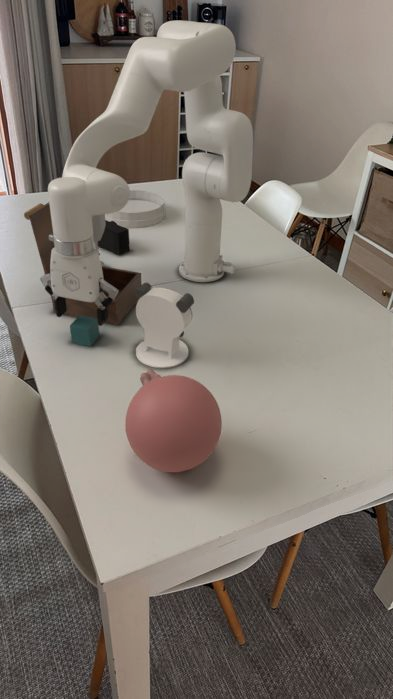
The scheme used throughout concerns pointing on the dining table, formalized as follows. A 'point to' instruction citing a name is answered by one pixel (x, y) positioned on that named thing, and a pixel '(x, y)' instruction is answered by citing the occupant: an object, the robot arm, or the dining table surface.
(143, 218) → the dish
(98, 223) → the chalice
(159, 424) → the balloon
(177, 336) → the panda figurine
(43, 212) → the box lid
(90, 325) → the block
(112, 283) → the box
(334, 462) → the dining table surface
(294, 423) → the dining table surface
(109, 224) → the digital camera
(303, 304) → the dining table surface
